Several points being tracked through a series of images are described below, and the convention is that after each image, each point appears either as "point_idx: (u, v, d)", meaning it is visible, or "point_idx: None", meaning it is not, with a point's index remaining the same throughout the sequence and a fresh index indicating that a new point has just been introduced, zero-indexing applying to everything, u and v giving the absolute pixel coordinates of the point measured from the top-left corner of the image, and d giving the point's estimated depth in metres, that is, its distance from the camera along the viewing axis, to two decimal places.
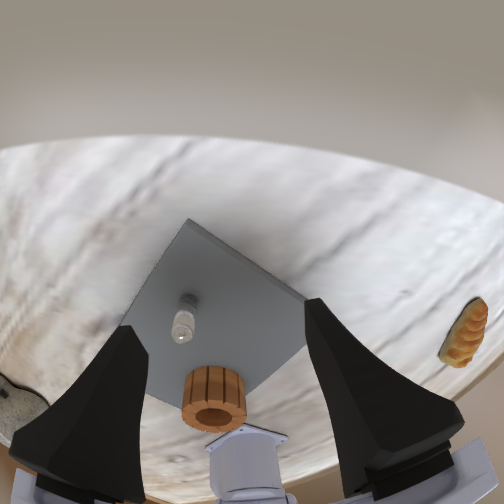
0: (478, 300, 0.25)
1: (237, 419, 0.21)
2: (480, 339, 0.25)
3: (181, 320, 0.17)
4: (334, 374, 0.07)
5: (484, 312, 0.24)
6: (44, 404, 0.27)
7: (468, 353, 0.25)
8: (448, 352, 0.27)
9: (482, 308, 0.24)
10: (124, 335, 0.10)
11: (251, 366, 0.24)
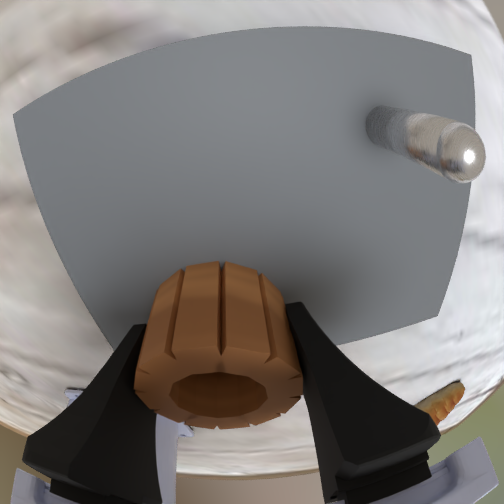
0: (462, 384, 0.23)
1: (255, 416, 0.09)
2: None
3: None
4: (310, 379, 0.08)
5: None
6: None
7: None
8: None
9: (462, 393, 0.22)
10: (140, 334, 0.10)
11: (316, 320, 0.12)
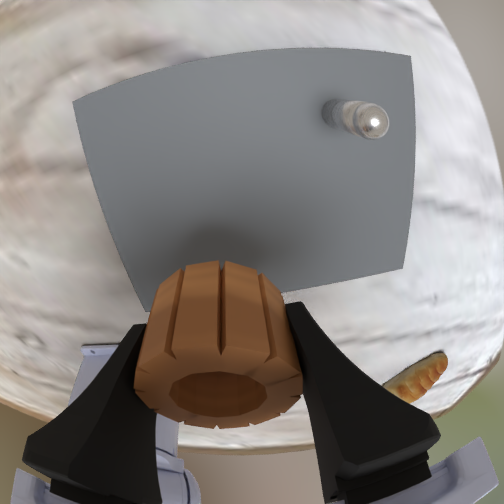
0: (445, 355, 0.27)
1: (255, 416, 0.09)
2: (425, 392, 0.27)
3: None
4: (310, 379, 0.07)
5: (444, 368, 0.26)
6: None
7: (412, 398, 0.27)
8: (398, 386, 0.27)
9: (445, 363, 0.26)
10: (140, 334, 0.10)
11: (295, 260, 0.17)
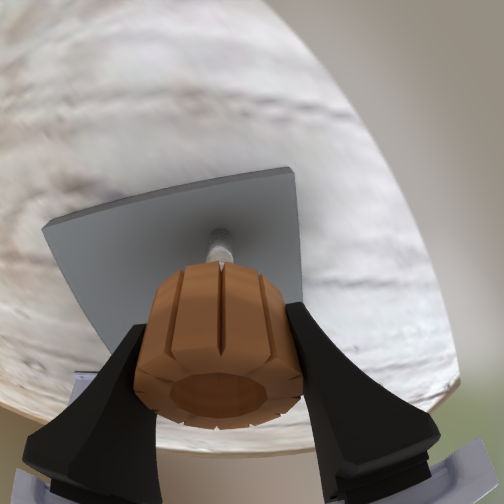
0: None
1: (255, 417, 0.09)
2: None
3: (228, 259, 0.15)
4: (310, 379, 0.07)
5: None
6: None
7: None
8: None
9: None
10: (140, 334, 0.10)
11: None
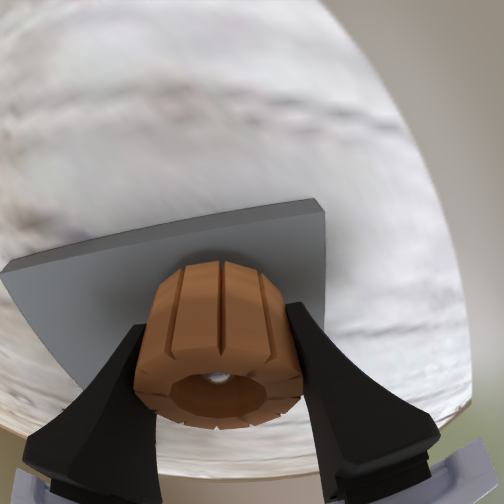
0: None
1: (255, 417, 0.09)
2: None
3: None
4: (310, 379, 0.07)
5: None
6: None
7: None
8: None
9: None
10: (140, 334, 0.10)
11: None
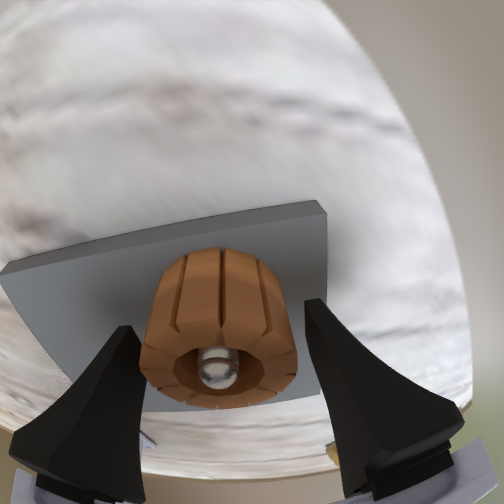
0: None
1: (253, 395, 0.10)
2: None
3: (230, 351, 0.09)
4: (334, 374, 0.07)
5: None
6: None
7: None
8: None
9: None
10: (124, 335, 0.10)
11: None
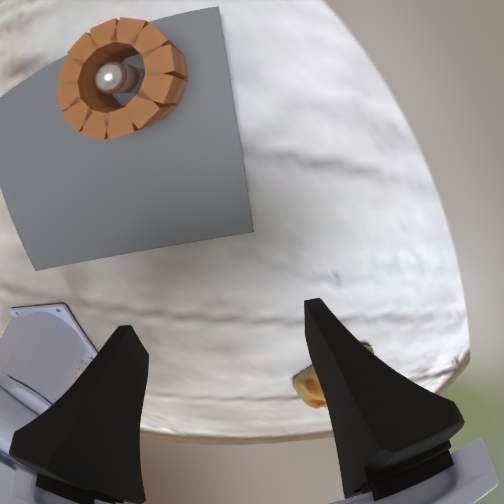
0: (368, 347, 0.26)
1: (137, 108, 0.10)
2: None
3: (124, 64, 0.09)
4: (334, 374, 0.07)
5: None
6: None
7: None
8: (306, 380, 0.27)
9: None
10: (124, 335, 0.10)
11: (127, 220, 0.16)
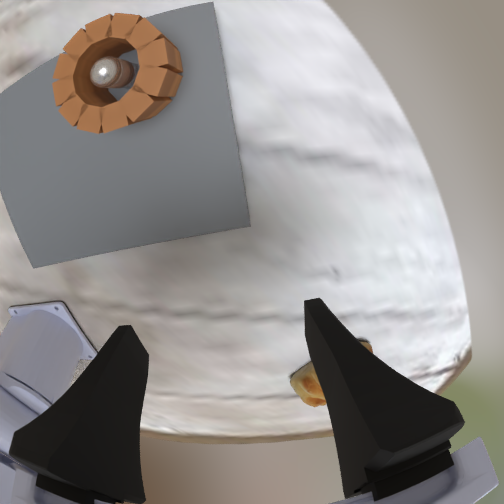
0: (366, 344, 0.26)
1: (131, 101, 0.10)
2: None
3: (119, 59, 0.09)
4: (334, 374, 0.07)
5: None
6: None
7: None
8: (304, 378, 0.27)
9: None
10: (124, 335, 0.10)
11: (123, 216, 0.16)
